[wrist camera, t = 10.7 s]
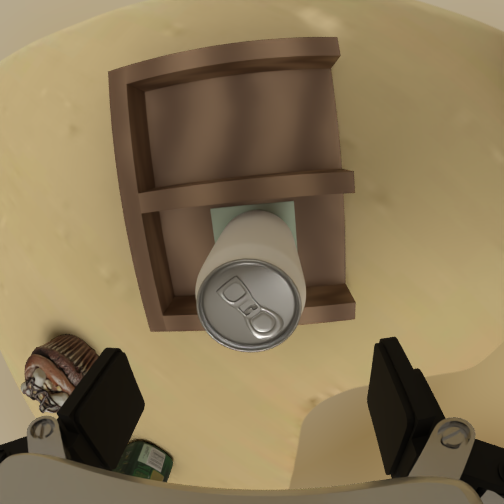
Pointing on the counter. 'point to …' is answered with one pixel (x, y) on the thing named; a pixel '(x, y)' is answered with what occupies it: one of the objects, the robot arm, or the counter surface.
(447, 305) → the counter surface
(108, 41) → the counter surface
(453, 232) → the counter surface
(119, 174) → the tray
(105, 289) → the counter surface
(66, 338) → the cupcake
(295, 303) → the can
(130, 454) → the coffee jar
